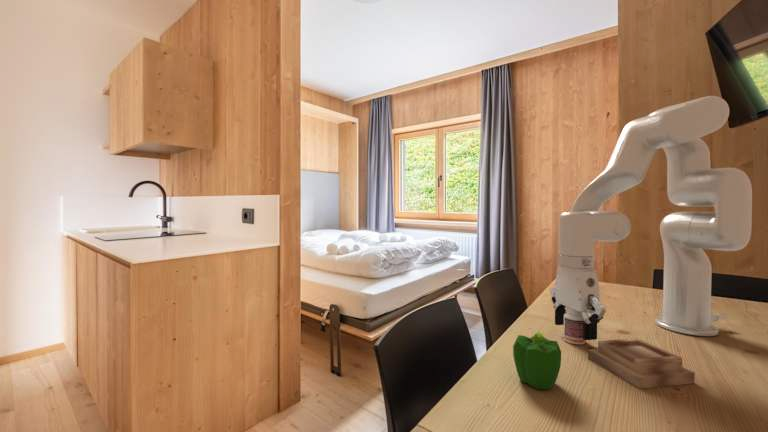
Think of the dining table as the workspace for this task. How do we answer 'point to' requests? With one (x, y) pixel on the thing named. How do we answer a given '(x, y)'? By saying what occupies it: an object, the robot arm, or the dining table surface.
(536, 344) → the bell pepper
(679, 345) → the dining table surface
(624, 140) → the robot arm
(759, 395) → the dining table surface
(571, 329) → the pill bottle
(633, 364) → the plinth
